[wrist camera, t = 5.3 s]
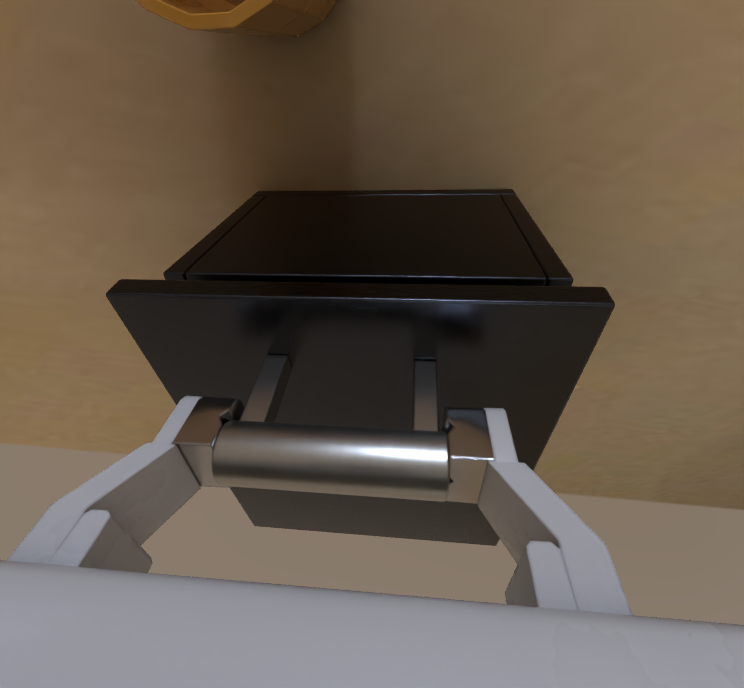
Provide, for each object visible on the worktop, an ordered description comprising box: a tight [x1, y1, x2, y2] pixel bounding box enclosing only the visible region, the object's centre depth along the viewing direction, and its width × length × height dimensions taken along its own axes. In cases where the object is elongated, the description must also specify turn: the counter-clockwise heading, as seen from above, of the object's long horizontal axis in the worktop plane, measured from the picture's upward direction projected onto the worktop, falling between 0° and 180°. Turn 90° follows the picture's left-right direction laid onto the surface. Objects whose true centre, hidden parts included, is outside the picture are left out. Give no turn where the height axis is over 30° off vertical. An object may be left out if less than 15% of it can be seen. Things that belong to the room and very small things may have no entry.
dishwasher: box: [164, 189, 573, 287], centre depth 21 cm, size 16×14×10 cm
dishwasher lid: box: [106, 279, 615, 546], centre depth 14 cm, size 16×14×5 cm
